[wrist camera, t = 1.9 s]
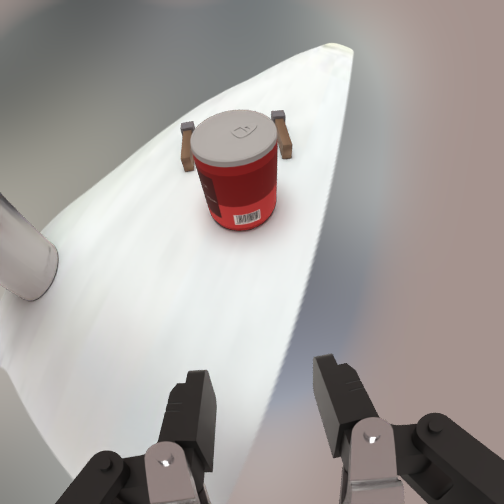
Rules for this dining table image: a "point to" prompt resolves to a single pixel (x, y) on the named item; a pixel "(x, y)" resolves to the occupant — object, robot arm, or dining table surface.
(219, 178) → the canned food
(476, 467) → the robot arm
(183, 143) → the channel walls
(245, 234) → the dining table surface
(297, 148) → the dining table surface
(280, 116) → the posts
